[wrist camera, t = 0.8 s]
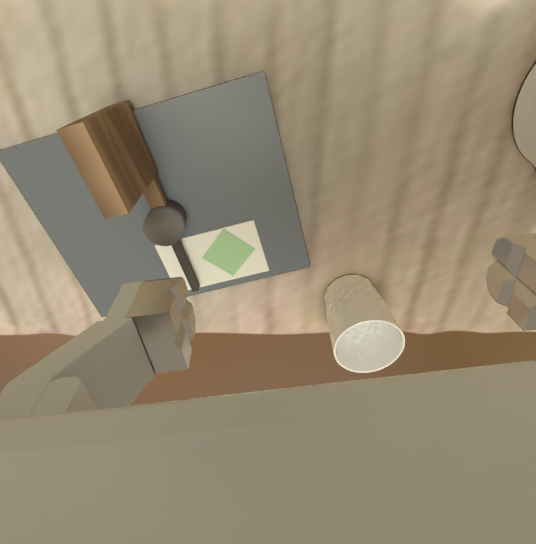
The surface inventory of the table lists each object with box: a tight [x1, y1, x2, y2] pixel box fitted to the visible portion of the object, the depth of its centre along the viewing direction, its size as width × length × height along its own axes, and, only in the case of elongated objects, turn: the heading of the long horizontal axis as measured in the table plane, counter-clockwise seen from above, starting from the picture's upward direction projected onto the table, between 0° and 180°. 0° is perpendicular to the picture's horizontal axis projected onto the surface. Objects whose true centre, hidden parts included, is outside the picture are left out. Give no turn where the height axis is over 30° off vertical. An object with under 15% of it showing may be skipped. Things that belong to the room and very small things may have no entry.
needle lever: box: [57, 100, 200, 292], centre depth 36 cm, size 4×21×11 cm, turn 15°
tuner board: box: [0, 71, 310, 317], centre depth 41 cm, size 28×22×1 cm
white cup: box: [324, 275, 405, 373], centre depth 45 cm, size 8×8×10 cm
